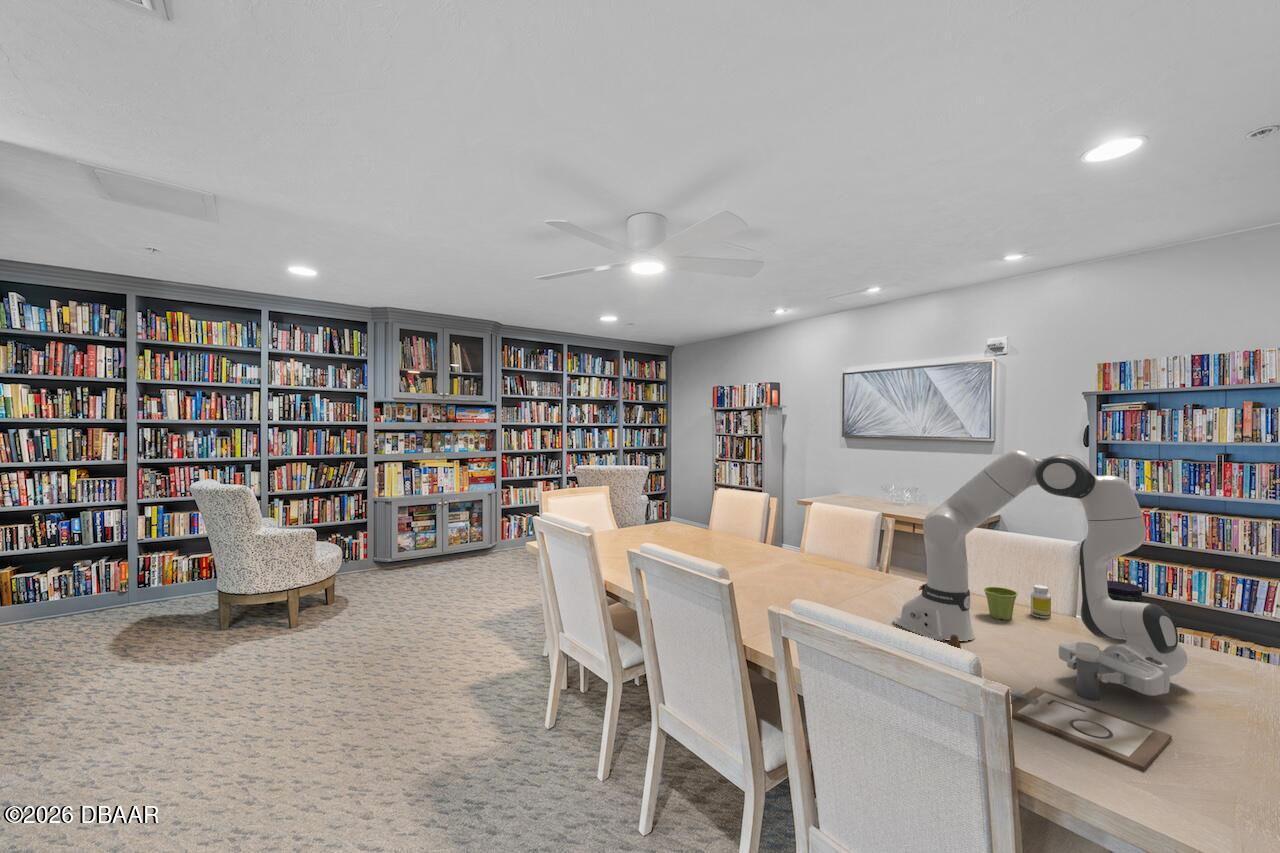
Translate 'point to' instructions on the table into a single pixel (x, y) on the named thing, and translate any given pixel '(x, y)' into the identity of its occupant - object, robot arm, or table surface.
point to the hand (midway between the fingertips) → (1084, 671)
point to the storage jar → (1124, 591)
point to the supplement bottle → (1040, 602)
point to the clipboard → (1090, 727)
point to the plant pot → (1000, 602)
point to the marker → (1087, 670)
